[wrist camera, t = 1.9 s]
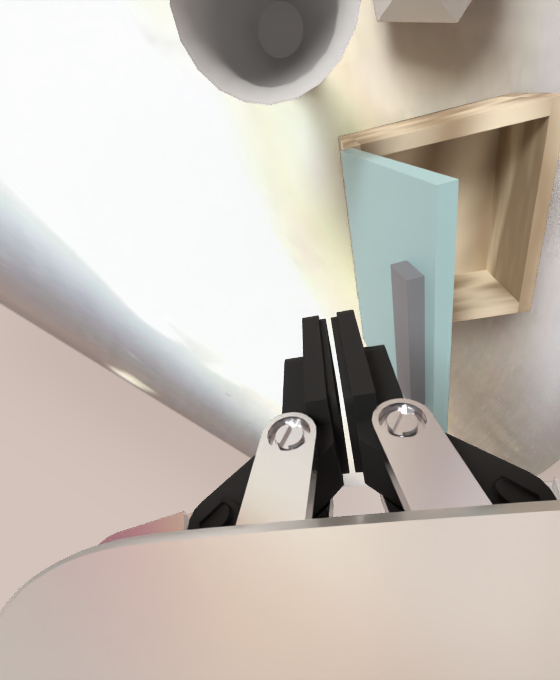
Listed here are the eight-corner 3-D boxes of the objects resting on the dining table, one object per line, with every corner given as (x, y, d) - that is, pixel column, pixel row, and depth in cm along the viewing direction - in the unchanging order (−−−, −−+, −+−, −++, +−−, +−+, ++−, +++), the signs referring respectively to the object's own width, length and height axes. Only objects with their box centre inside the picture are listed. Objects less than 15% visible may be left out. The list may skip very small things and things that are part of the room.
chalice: (336, -17, 26) (372, -163, 11) (333, 96, 30) (356, 99, 15) (237, -8, 26) (146, -136, 12) (247, 102, 30) (187, 110, 16)
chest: (511, 93, 29) (570, 93, 22) (491, 272, 37) (529, 310, 31) (338, 136, 31) (345, 148, 25) (357, 295, 40) (366, 334, 33)
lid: (458, 179, 13) (414, 191, 13) (445, 459, 21) (419, 465, 21) (350, 147, 25) (328, 153, 25) (370, 334, 33) (353, 338, 33)
